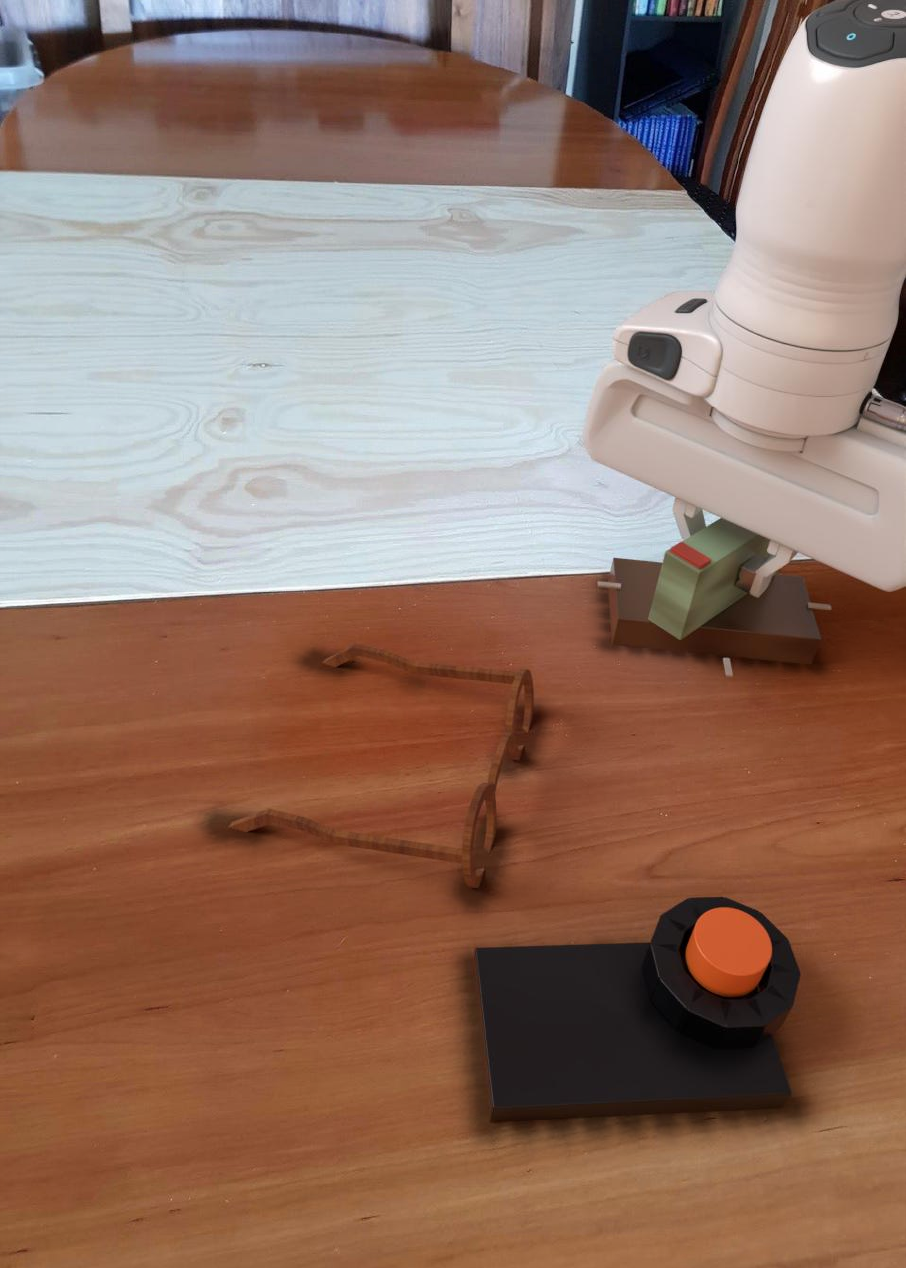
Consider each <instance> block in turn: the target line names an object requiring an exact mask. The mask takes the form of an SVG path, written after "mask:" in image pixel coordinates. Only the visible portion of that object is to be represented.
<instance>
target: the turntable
mask: <svg viewBox="0 0 906 1268" xmlns="http://www.w3.org/2000/svg"><path fill="white" fill-rule="evenodd" d="M611 562H612V563H611V568H610V572H609V575H608V580H607V581H601V580H598V581H597V587H598V588H607V592H608V593H607V594H608V605H609V606H608V607H609V619H610V620H609V621H610V622H609V623H610V635H611V645H613V646H622V647H632V648H642V649H643V648H644V649H653V650H662V651H671V652H672V651H673V652H682V653H692V654H702V655H713V656H721V657H723V658H722V663H723V668H724V673H725V677H727V678H732V677H734V674H733V668H732V663H731V658H741V659H752V660H761V661H770V662H780V663H781V662H782V663H789V664H790V663H792V664H801V665H809V666H810V665H812V663H813V661H814V658H815V657H816V653H817V652H818V648H819V646H820V644H821V642H822V636H821V633H820V629H819V626H818V623H817V619H816V615H815V613H814V609H816V610H826V611H831V610H832V606H831V604H828V603H818V602H811V599H810V596H809V593H808V589H807V586H806V583H805V582H806V581H805V579H804V577H803V576H801V575H800V576H799V575H790V574H780V573H776V574H775V575H774V576H773V577H772V578H771V581H770V583H769V585H768V587H767V588H766V590H765V591H764V592H763V593H762V594H761V595H760V596H759V598H757V597H755V596H753V595H750V594H746V595H745V596H744V597H742V598H741V599H739V600H738V601H736V602H735V603H733V604H732V605H731V606H729V607H728V608H726V609H725V610H723V611H722V612H720V613H719V614H717V615H716V616H715V617H713V618H712V619H710V620H709V621H707V622H706V623H704V624H703V625H702V626H700V627H699V628H697V629H696V630H694V631H693V632H691V633H690V634H689V635H687V636H686V637H684V638H683V639H681V640H679V639H677V638H676V637H674V636H673V635H671V634H670V633H668V632H667V631H665V630H664V629H662V628H661V627H659V626H657V625H656V624H654V623H653V622H651V621H650V620H648V617H649V613H650V610H651V606H652V602H653V598H654V594H655V590H656V586H657V583H658V579H659V575H660V571H661V567H662V563H663V561H662V562H661V561H651V560H644V559H643V560H641V559H631V558H622V557H613V558H612V561H611ZM730 657H731V658H730Z"/></svg>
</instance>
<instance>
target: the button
mask: <svg viewBox="0 0 906 1268" xmlns="http://www.w3.org/2000/svg"><path fill="white" fill-rule="evenodd" d="M771 956H772V944H771V940H770V937H769V935H768V933H767V931H766V930H765V929H764V927H763V926H762V925H761V924H760V923H759V922H758V921H757V920H756V919H755V918H753V917H752V916H751V915H749V914H747V913H745V912H743V911H740V910H738V909H734V908H728V907H721V908H715V909H711V910H709V911H707V912H705V913H704V914H703V915H702V916H701V917H700V918H699V919H698V920H697V922H696V925H695V927H694V930H693V932H692V935H691V937H690V940H689V942H688V945H687V947H686V953H685V957H686V963H687V966H688V969H689V971H690V973H691V975H692V976H693V977H694V979H695V980H696V981H697V982H698V983H699V984H700V985H701V986H702V987H704V988H705V989H707V990H708V991H710V992H712V993H714V994H717V995H720V996H724V997H740V996H744V995H746V994H748V993H750V992H752V991H753V990H754V989H755V988H756V987H757V988H758V986H759V982H760V980H761V978H762V976H763V974H764V972H765V970H766V968H767V966H768V964H769V962H770V959H771Z"/></svg>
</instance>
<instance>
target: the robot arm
mask: <svg viewBox="0 0 906 1268" xmlns="http://www.w3.org/2000/svg"><path fill="white" fill-rule="evenodd" d="M735 222H736V223H735V224H736V231H735V232H736V234H735V235H736V236H735V243H734V248H733V251H732V254H731V256H730V259H729V261H728V262H727V265H726V267H725V269H724V270H723V272H722V273H721V274H720V277H719V279H718V281H717V284H716V287H715V291H714V290H711V291H708V290H707V291H705V290H704V291H703V290H679V291H673V292H671V293H668V294H666V295H664V296H662V297H660V298H658V299H656V300H654V301H651V302H650V303H648V304H647V305H645V306H643V307H642V308H640V309H639V310H637V311H635V312H634V313H633V314H630V316H629V317H627V318H626V319H625V320H623V322H621V323H620V324H619V325H618V326H617V327H616V328H615V330H614V332H613V335H612V342H611V352H612V356H613V359H612V360H610V361H609V362H608V363H607V364H605V365H604V366H603V368H602V369H601V370H600V372H599V373H598V375H597V377H596V379H595V382H594V386H593V389H592V392H591V395H590V397H589V402H588V405H587V410H586V413H585V417H584V422H583V428H582V435H581V439H582V443H583V445H584V447H585V450H586V452H587V455H588V456H589V458H590V459H591V460H592V461H593V462H594V463H595V462H596V463H597V464H600V465H603V466H605V467H607V468H609V469H611V470H613V471H615V472H618V473H620V474H623V475H624V476H626V477H628V478H631V479H633V480H636V481H639V482H640V483H642V484H644V485H647V486H649V487H651V488H653V489H656V490H657V491H660V492H662V493H665V494H667V495H669V496H672V497H674V500H673V505H672V508H671V511H672V513H673V516H674V520H675V523H676V526H677V528H678V531H679V534H680V538H681V539H682V541H684V540H685V539H687V538H689V537H690V536H692V535H694V534H695V533H697V532H699V531H700V530H702V529H704V528H705V527H707V525H706V520H705V516H704V511H705V512H706V513H709V514H712V515H714V516H716V517H718V518H719V519H720V518H723V519H725V520H727V521H729V522H732V523H734V524H736V525H738V526H740V527H743V528H745V529H747V530H749V531H752V532H754V533H756V534H758V535H761V536H763V537H765V538H767V539H770V543H769V546H768V549H767V552H768V553H769V554H772V555H770V556H769V557H767V558H765V557H763V556H760V555H758V554H756V555H755V556H753V557H752V558H750V560H749V561H746V562H745V563H744V564H743V565H742V566H741V569H740V572H739V575H738V576H739V579H738V580H737V581H736V584H735V587H737V588H739V589H741V590H743V591H745V592H747V593H748V594H750V595H753V596H755V597H757V598H759V596H760V595H761V594H762V593H763V592H764V591H765V590H766V588H767V587H768V585H769V583H770V581H771V578H772V575H773V573H774V572H775V571H777V572H778V571H779V570H780V569H782V568H783V567H785V566H786V565H788V564H789V563H790V562H791V561H792V560H793V559H794V558H795V556H796V555H797V554H801V555H803V556H805V557H807V558H809V559H811V560H814V561H817V562H819V563H821V564H823V565H825V566H827V567H830V568H832V569H834V570H836V571H839V572H841V573H843V574H845V575H848V576H849V577H852V578H853V579H857V580H858V581H861V582H863V583H865V584H867V585H870V586H871V587H874V588H876V589H878V590H881V591H884V592H887V593H888V592H889V593H891V592H895V591H898V590H900V589H903V588H905V587H906V406H904V405H902V404H900V403H897V402H895V401H892V400H889V399H887V398H884V397H882V396H879V395H876V394H874V393H873V389H874V387H875V385H876V383H877V380H878V377H879V374H880V371H881V368H882V365H883V364H884V360H885V357H886V354H887V352H888V350H889V347H890V344H891V341H892V339H893V336H894V333H895V331H896V328H897V325H898V321H899V313H900V312H899V311H900V310H899V307H900V296H901V291H902V288H903V284H904V281H905V280H906V0H833V1H831V2H829V3H827V4H824V5H822V6H821V7H818V8H816V9H815V10H814V11H812V12H811V13H810V14H808V15H807V16H806V17H805V19H803V20H802V22H801V23H800V25H799V27H798V29H797V30H796V32H795V34H794V36H793V37H792V39H791V41H790V43H789V45H788V47H787V49H786V51H785V54H784V56H783V58H782V60H781V61H780V64H779V67H778V69H777V72H776V74H775V77H774V79H773V82H772V84H771V87H770V89H769V92H768V95H767V97H766V101H765V103H764V105H763V109H762V112H761V115H760V119H759V121H758V124H757V127H756V130H755V134H754V137H753V141H752V143H751V146H750V150H749V154H748V158H747V161H746V165H745V169H744V173H743V177H742V180H741V185H740V189H739V193H738V197H737V200H736V206H735Z"/></svg>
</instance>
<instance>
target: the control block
mask: <svg viewBox="0 0 906 1268" xmlns="http://www.w3.org/2000/svg"><path fill="white" fill-rule="evenodd" d="M721 907H728V908H734V909H738V910H740V911H743V912H745V913H747V914H749V915H751V916H752V917H753V918H755V919H756V920H757V921H758V922H759V923H760V924H761V925H762V926H763V927H764V929H765V930H766V931H767V933H768V935H769V937H770V940H771V944H772V956H771V959H770V962H769V964H768V966H767V968H766V970H765V972H764V974H763V976H762V978H761V980H760V982H759V984H758V986H757V987H756V988H755V989H754V990H753V991H752V992H750V993H748V994H746V995H744V996H740V997H724V996H720V995H717V994H714V993H712V992H710V991H708V990H707V989H705V988H704V987H702V986H701V985H700V984H699V983H698V982H697V981H696V980H695V979H694V977H693V976H692V975H691V973H690V971H689V969H688V966H687V963H686V957H685V953H686V947H687V945H688V942H689V940H690V937H691V935H692V932H693V930H694V927H695V925H696V922H697V920H698V919H699V918H700V917H701V916H702V915H703V914H704V913H705V912H707V911H709V910H711V909H715V908H721ZM650 939H651V940H650V941H649V942H621V943H618V942H617V943H589V944H588V943H587V944H557V945H555V944H554V945H553V944H552V945H526V946H524V945H523V946H520V945H519V946H491V947H475V948H474V953H473V960H472V970H473V971H472V972H473V980H474V990H475V998H476V999H475V1000H476V1008H477V1017H478V1027H479V1036H480V1045H481V1046H480V1047H481V1054H482V1064H483V1073H484V1074H483V1075H484V1084H485V1092H486V1102H487V1111H488V1121H489V1123H506V1122H508V1123H509V1122H528V1121H529V1122H530V1121H548V1120H549V1121H550V1120H551V1121H552V1120H570V1119H589V1118H590V1119H591V1118H592V1119H593V1118H608V1117H611V1118H612V1117H628V1116H631V1117H632V1116H651V1115H653V1116H654V1115H670V1114H671V1115H672V1114H692V1113H693V1114H694V1113H710V1112H729V1111H731V1112H732V1111H752V1110H753V1111H754V1110H773V1109H783V1108H784V1107H785V1105H786V1104H787V1102H788V1100H789V1098H790V1097H791V1096H792V1091H791V1088H790V1085H789V1082H788V1078H787V1076H786V1075H787V1074H786V1072H785V1069H784V1065H783V1063H782V1060H781V1056H780V1054H779V1050H778V1048H777V1044H776V1041H775V1039H774V1035H773V1034H774V1033H775V1032H777V1031H778V1030H779V1029H781V1028H782V1026H783V1025H784V1022H785V1021H786V1019H787V1017H788V1015H789V1014H790V1012H791V1010H792V1008H793V1007H794V1004H795V1000H796V995H797V992H798V987H799V983H800V980H801V975H802V974H801V971H800V967H799V964H798V962H797V959H796V956H795V953H794V951H793V948H792V945H791V942H790V940H789V939H788V937H787V936H786V935H785V934H784V933H783V932H782V931H781V930H780V929H778V927H777V926H776V925H775V924H774V923H773V922H772V921H771V920H770V919H769V918H768V917H766V915H764V913H762V911H760V910H757V909H755V908H752V907H750V906H748V905H745V904H743V903H740V902H739V901H736V900H733V899H731V898H728V897H726V896H725V897H724V896H701V897H700V896H699V897H694V896H693V897H689V898H685V899H684V900H682V901H681V902H679V903H677V904H676V905H674V906H672V907H671V908H670V909H668V910H666V911H664V912H663V913H662V914H660V917H659V919H658V921H657V924H656V926H655V929H654V932H653V934H652V937H651V938H650ZM758 987H759V989H758Z"/></svg>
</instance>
